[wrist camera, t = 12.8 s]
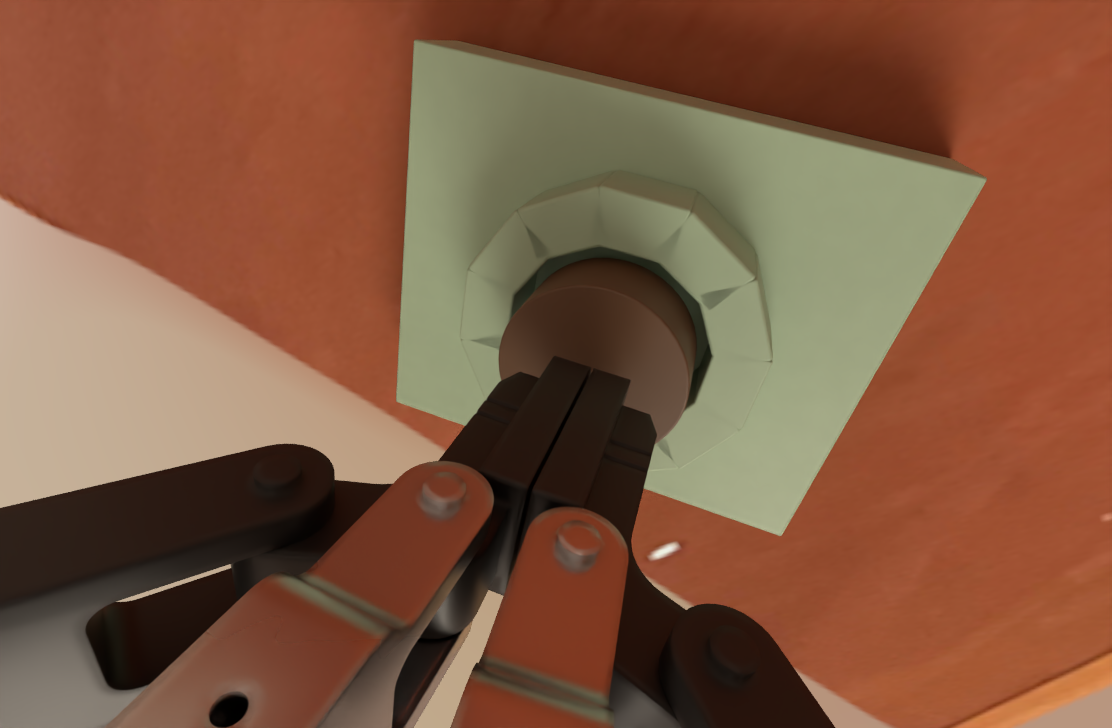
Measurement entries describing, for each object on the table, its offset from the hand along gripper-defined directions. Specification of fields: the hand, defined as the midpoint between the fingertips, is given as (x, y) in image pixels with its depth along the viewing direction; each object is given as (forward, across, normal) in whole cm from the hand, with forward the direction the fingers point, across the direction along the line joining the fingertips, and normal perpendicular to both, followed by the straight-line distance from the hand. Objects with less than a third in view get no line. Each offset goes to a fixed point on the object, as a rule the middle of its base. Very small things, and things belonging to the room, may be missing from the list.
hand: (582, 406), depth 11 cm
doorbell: (+6, 0, 0) cm, 6 cm away
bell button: (+3, 0, 0) cm, 3 cm away
